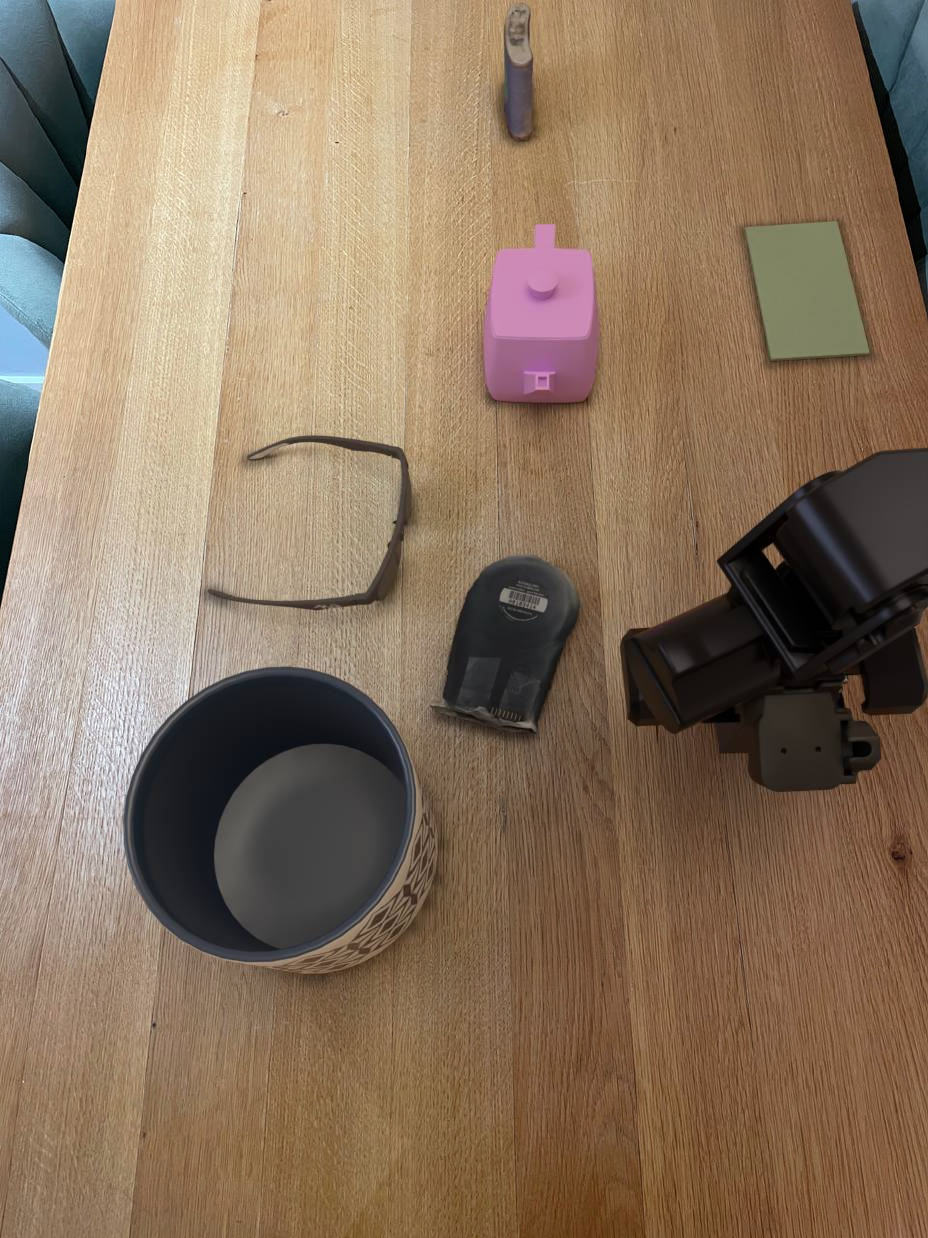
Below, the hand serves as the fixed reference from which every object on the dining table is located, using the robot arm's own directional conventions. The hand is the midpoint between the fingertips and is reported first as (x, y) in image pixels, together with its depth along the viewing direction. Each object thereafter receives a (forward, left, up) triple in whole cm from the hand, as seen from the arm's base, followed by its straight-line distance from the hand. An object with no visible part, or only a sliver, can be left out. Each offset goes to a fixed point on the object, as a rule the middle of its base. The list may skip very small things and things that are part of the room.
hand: (741, 708), depth 69 cm
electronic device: (+8, -16, -6) cm, 19 cm away
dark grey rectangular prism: (0, 0, -4) cm, 5 cm away
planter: (+30, -13, -6) cm, 33 cm away
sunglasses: (+14, -35, -6) cm, 39 cm away
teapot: (-13, -36, -6) cm, 39 cm away
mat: (-37, -25, -6) cm, 45 cm away
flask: (-33, -62, -6) cm, 71 cm away
